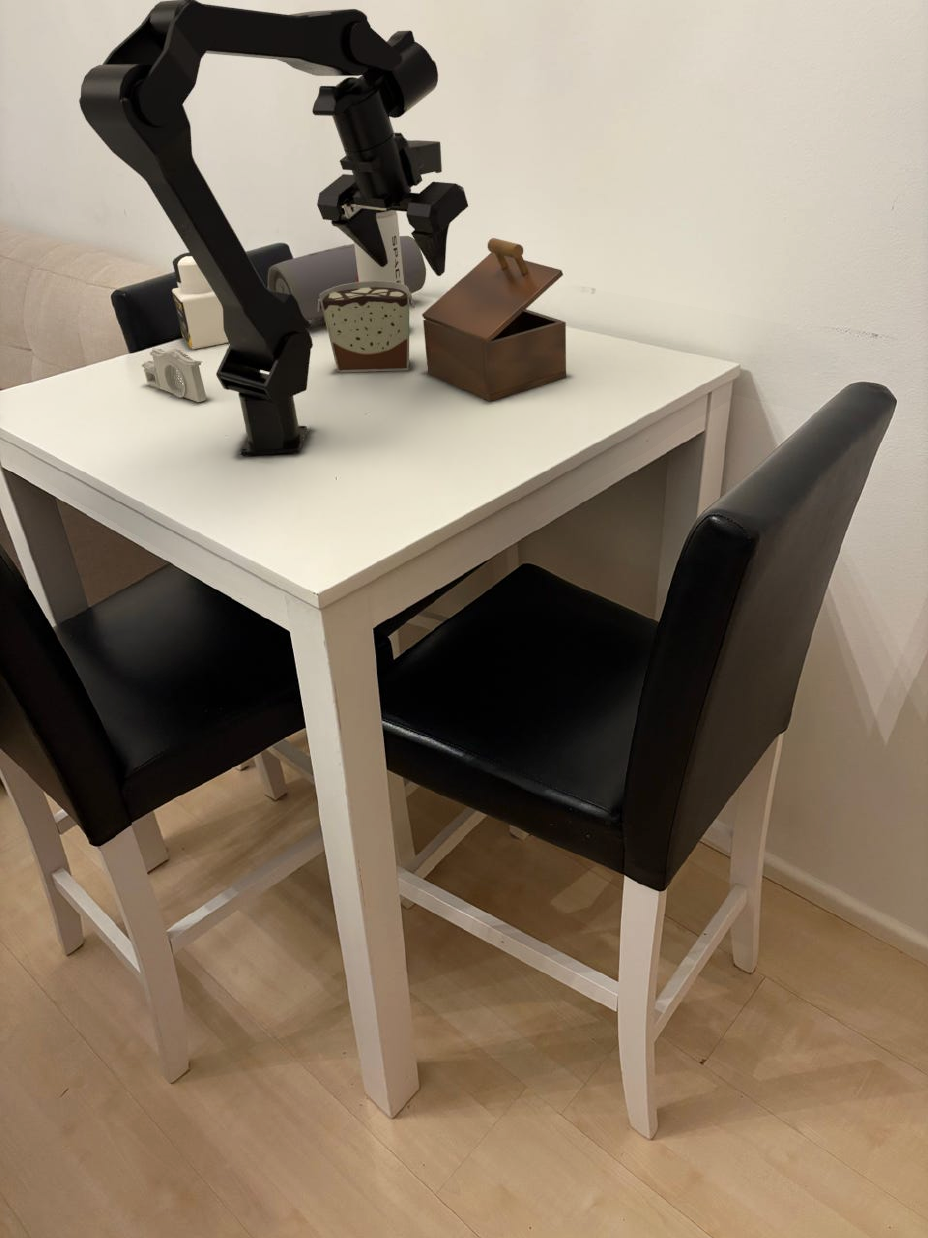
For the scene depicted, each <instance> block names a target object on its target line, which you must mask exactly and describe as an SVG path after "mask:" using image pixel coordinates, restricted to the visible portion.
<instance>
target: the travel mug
mask: <svg viewBox="0 0 928 1238" xmlns="http://www.w3.org/2000/svg"><path fill="white" fill-rule="evenodd" d="M398 217H399V215H398V211H395V210H386V211H383V210H377V213H376V219H377V223H378V226H379V230H380V233H381V236H382V240H383V243H384V247H385V250H386V254H387V259H388V264H387V265H386V266H384V267H380V266H379V265H378V264H377V263H376V262H375V261H374V260H373V259H372V258H371V257H370V256H369V255H368V254H367V253H366V252H365V251H364V250H363V249H361V247H359V246H358V245H357V244H356V243H355V242H354V241H353V244H354V246H355V254H356V262H357V271H358V279H359V282H363V281H391V282H397V283H401V284H404V276H403V266H402V256H401V246H400V236H401V235H400V226H399V218H398Z"/></svg>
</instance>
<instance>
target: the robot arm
mask: <svg viewBox="0 0 928 1238" xmlns="http://www.w3.org/2000/svg"><path fill="white" fill-rule="evenodd" d="M206 54H209V55H220V56H230V57H231V56H232V57H241V58H242V57H244V58H255V59H268V60H277V61H279V62H282V63H285V64H287V65H288V66H290V67H291V68H292V69H295V70H298V71H301V72H304V73H306V74H309V75H312V76H316V77H346V78H344V79H342V80H341V81H340V82H339V83H337V84H336V85H320V86H319V87H318V94H317V97H316V99H315V100H314V103H313V106H312V109H311V112H312V114H313V116H322V117H323V116H325V117H332V119H333V123H334V126H335V129H336V131H337V133H338V137H339V138H340V142H341V145H342V147H343V151H344V154H345V156H343V157H342V158H341V159H340V160H339V163H340V166H341V168H342V170H343V171H351V173H352V174H348V173H343V174H341V175H340V176H339V177H337V178H336V179H335V180H333V182H331V183H330V184H328V186H326V187H325V188H324V189H322V190H321V191H320V192H318V197H317V204H316V205H317V209H318V211H319V213H320V215H321V218H322V220H326V221H330V223H331V225H332V226H333V227H336V228H337V229H338V230H340V231H341V232H342V233H343V234H344V235H346V236H347V237H348V238H349V239H350V240H351V241H352V242H353V243H354V242H355V243H356V244H357V245H358V246H359V247H361V249H363V250H364V251H365V252H366V253H367V254H368V255H369V256H370V257H371V258H372V259H373V260H374V261H375V262H376V263H377V264H378V265H379V266H380V267H384V266H386V265H387V264H388V259H387V254H386V250H385V247H384V243H383V240H382V236H381V233H380V230H379V226H378V223H377V219H376V213H377V210H383V211H386V210H395V211H396V212H404V213H405V215H406V219H407V222H408V225H410V227H412V228H413V229H414V230H413V231H412V232H410V234H411V237H412V238H413V239H414V240H415V241H416V243H417V245H418V246H419V248H420V250H421V253H422V256H423V257H424V258H425V260H426V262H427V263H428V265H429V267H430V268H431V269H432V271H433V272H434V274H435V275H436V276H437V277H441V276H443V274H444V273H445V271H446V259H447V240H448V238H447V237H448V232H449V228H450V225H451V223H452V222H453V221H454V220H455V219H456V218H457V217H459V216H460V215H461V214H462V213H463V212H464V211H465V210H466V209H467V208H469V203H468V200H467V196H466V193H465V189H464V186H462V185H460V184H458V183H455V182H445V181H443V182H441V181H432V182H431V183H430V184H428V185H427V186H426V187H425V188H423V189H422V190H421V191H420V192H419V193H418V192H412V187H417V186H419V184H421V183H422V182H423V177H422V175H428V174H431V173H435V174H440V173H442V172H443V166H442V165H443V164H442V149H441V142H440V141H439V140H437V141H436V140H420V139H419V140H417V139H416V140H415V139H414V140H411V139H409V140H408V139H407V138H405V136H404V135H403V133H402V132H395V131H394V128H393V125H392V122H391V121H392V120H391V118H393V119H397V118H401V117H403V115H404V114H406V113H407V112H409V110H411V109H412V108H413V107H415V106H416V105H417V104H418V103H420V102H421V101H422V100H423V99H425V98H426V97H427V96H429V95H430V94H431V93H432V92H433V91H434V90H435V89H436V87H437V85H438V81H439V72H438V66H437V64H436V61H435V60H433V58H432V56H431V54H430V53H429V52H428V50H427V49H426V48H425V47H424V46H423V45H422V44H420V43H418V42H417V41H416V40H415V37H414V34H413V31H412V30H397V31H396V32H394V33H393V34H392V35H391V36H389V38H388V39H387V40H385V39H384V38H383V37H382V36H381V35H380V34H379V33H378V32H376V30H374V28H372V25H371V24H370V22H369V20H368V16H367V14H365V12H364V11H362V10H359V9H357V8H347V9H346V8H345V9H329V10H327V9H326V10H313V11H304V12H298V13H291V14H286V13H285V14H283V13H276V12H269V11H261V10H254V9H245V8H239V7H229V6H222V5H216V4H215V5H214V4H209V3H208V4H207V3H202V2H200V1H198V0H163V1H162V0H161V1H159V2H158V3H156V4H155V5H154V6H153V8H151V10H149V12H148V14H147V15H146V17H145V18H144V19H143V21H142V22H141V24H140V25H138V27H137V28H136V29H135V30H133V31H132V32H131V33H130V34H129V35H128V36H127V37H126V38H124V39H123V40H122V42H120V43H118V45H117V46H116V47H114V48H113V50H111V52H110V53H109V54H108V55H107V57H106V58H105V60H104V62H103V63H102V64H98V65H96V66H94V67H92V68H90V69H89V70H88V72H87V73H86V74H85V75H84V77H83V80H82V83H81V85H80V97H79V99H78V103H79V107H80V110H81V112H82V115H83V117H84V118H85V121H86V122H87V123H88V125H89V126H90V127H91V129H92V130H93V131H94V132H95V133H96V134H97V136H98V137H99V138H100V139H101V141H102V142H103V143H104V144H105V145H106V147H108V149H109V150H110V151H111V153H113V154H114V155H115V156H116V157H118V159H120V160H121V161H122V162H123V163H124V164H125V165H127V166H129V167H130V168H131V169H132V170H133V171H134V172H136V173H137V175H139V176H140V177H141V178H142V179H143V180H144V182H146V184H147V185H148V187H149V188H150V190H151V192H152V194H153V195H154V197H155V198H156V200H157V201H158V203H159V205H160V207H161V208H162V210H163V211H164V213H165V215H166V216H167V218H168V220H169V221H170V223H171V224H172V226H173V228H174V229H175V231H176V233H177V234H178V236H179V238H180V239H181V241H182V242H183V244H184V246H185V247H186V249H187V251H188V252H190V254H191V255H192V257H193V259H194V260H195V262H196V264H197V265H198V267H199V269H200V270H201V272H202V273H203V275H204V277H205V278H206V280H207V282H208V283H209V285H210V286H211V288H212V290H213V291H214V293H215V295H216V296H217V298H218V300H219V301H220V303H221V305H222V307H223V327H224V332H225V334H226V337H227V339H228V341H229V342H228V343H229V345H228V348H227V349H226V352H225V354H224V356H223V357H222V360H221V362H220V364H219V366H218V369H217V370H216V373H215V376H216V378H217V379H218V381H219V383H220V385H221V386H222V388H223V389H224V390H226V391H229V390H230V391H233V392H236V393H238V398H239V403H240V408H241V413H242V416H243V422H244V423H243V424H244V428H245V432H246V438H245V440H244V441H243V444H242V446H241V447H240V450H239V453H240V455H241V456H256V455H257V456H258V455H275V454H278V455H279V454H293V453H295V454H296V453H299V452H300V451H301V448H302V446H303V443H304V442H305V438H306V436H307V433H308V430H309V429H308V426H307V425H299V421H298V416H297V411H296V405H295V399H294V396H296V395H298V394H301V393H303V392H305V391H307V389H308V380H309V372H310V371H309V370H310V362H311V353H312V351H311V350H312V348H313V347H314V344H313V339H312V335H311V334H310V331H309V329H310V328H312V324H311V323H310V321H306V319H305V318H304V317H303V315H302V313H301V310H300V308H299V305H298V302H297V300H296V299H295V298H294V296H293V295H292V294H287V293H282V292H277V291H271V290H268V287H266V286H265V284H264V282H263V280H262V279H261V277H260V275H259V273H258V271H257V270H256V268H255V266H254V264H253V262H252V261H251V259H250V256H249V255H248V254H247V251H246V250H245V248H244V246H243V245H242V243H241V241H240V239H239V237H238V236H237V234H236V232H235V230H234V228H233V227H232V225H231V223H230V221H229V220H228V218H227V216H226V214H225V212H224V210H223V209H222V207H221V205H220V203H219V202H218V200H217V198H216V197H215V195H214V193H213V191H212V189H211V187H210V186H209V184H208V182H207V180H206V179H205V177H204V175H203V173H202V172H201V170H200V168H199V166H198V164H197V162H196V161H195V158H194V155H193V144H192V129H191V128H192V127H191V122H190V120H189V117H188V114H187V112H186V109H185V107H184V103H185V102H186V100H187V99H188V97H189V96H190V94H191V93H192V91H193V90H194V88H195V87H196V84H197V80H198V76H199V72H200V71H199V70H200V66H201V62H202V59H203V58H204V56H205V55H206ZM261 371H263V372H261ZM264 372H267V373H268V374H267V373H264Z"/></svg>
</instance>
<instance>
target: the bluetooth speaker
mask: <svg viewBox="0 0 928 1238" xmlns="http://www.w3.org/2000/svg"><path fill="white" fill-rule="evenodd" d="M400 246H401V256H402V266H403V276H404V285H406V286H407V287H408V289H409V291H410V292H411V294H413V293H416V292H418V291H420V290H422V289H423V287H424V286H425V284H426V279H427V268H426V263H425V259H424V255H423V253H422V251H421V250H420V248H419V246H418V245H417V243H416V241H415V240H414V238H413V236H410V235H400ZM267 270H268V271H267V289H268V290H271V291H277V292H282V293H287V294H292V295H293V296H294V298H295V299H296V300H297V302H298V305H299V308H300V310H301V313H302V315H303V317H304V318H305V319H306V321H308V322H310V321H311V322H312V321H317V320H320V322H322V323H323V324H326V322H325V318H324V314H323V310H322V309H321V310H320V311H319V312H318V300H319V299H320V296H319V295H320V294H321V293H322V292H324V291H325V290H327V289H330V288H333V287H336V286H339V285H344V284H349V283H355V282H359V279H358V271H357V262H356V254H355V246H354V243H351V244H344V245H340V246H336V247H334V248H328V249H325V250H319V251H315V252H312V253H308V254H305V255H302V256H298V257H294V258H291V259H287V260H284V261H280V262H278V263H276V264H273V265H271V266H270V267H268V269H267Z"/></svg>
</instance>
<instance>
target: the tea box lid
mask: <svg viewBox="0 0 928 1238" xmlns="http://www.w3.org/2000/svg"><path fill="white" fill-rule="evenodd" d="M487 250H488V252H490V253H489V254H488V255H487V256H485V258H484V259H482V260H481V261H480V262H479V263H478V264H476V265H475V266H474V267H473V268H472V269H471V270H470V271H469V272H468V273H466V274H465V275H464V276H463V277H462V278H461V279H460V280H459V281H458V282H457V283H456V284H454V285H453V286H452V287H451V288H450V289H449V290H448V291H446V292H445V293H444V294H443V295H441V297H440V298H439V299H437V300H436V301H435V302H434V303H433V304H432V305H430V306H429V307H428V308H427V309H426V310H425V311H424V312H423V313H422V314H421V316H422V319H423V320H428V321H431V322H434V323H436V324H439V325H441V326H444V327H447V328H449V329H452V330H454V331H457V332H460V333H462V334H465V335H468V336H470V337H473V338H475V339H478V340H481V341H483V342H486V343H489V342H490V341H491V340H493V339H494V338H495V337H496V336H497V335H498V334H499V333H500V332H501V331H502V330H503V329H505V328H506V327H507V326H508V325H509V324H510V323H511V322H512V321H513V320H514V319H515V318H517V317H518V316H519V315H520V314H521V313H522V312H523V311H524V310H525V309H528V308H529V307H530V306H531V305H532V304H533V303H534V302H535V301H537V300H538V299H539V298H540V297H541V296H542V295H543V294H544V293H545V292H546V291H547V290H549V288H551V287H552V286H553V285H554V284H555V283H556V282H558V281H559V280H560V279H561V278H562V277H563V276H564V273H563V271H562V269H559V268H555V267H552V266H549V265H544V264H540V263H537V262H533V261H529V260H525V259H524V257H523V255H524V247H523V245H521V244H519V243H516V242H512V241H508V240H504V239H499V238H496V237H495V238H494V237H492V238H490V239H489V240H488V242H487Z"/></svg>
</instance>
